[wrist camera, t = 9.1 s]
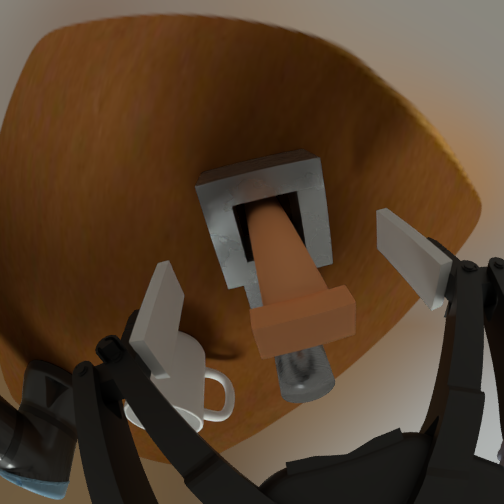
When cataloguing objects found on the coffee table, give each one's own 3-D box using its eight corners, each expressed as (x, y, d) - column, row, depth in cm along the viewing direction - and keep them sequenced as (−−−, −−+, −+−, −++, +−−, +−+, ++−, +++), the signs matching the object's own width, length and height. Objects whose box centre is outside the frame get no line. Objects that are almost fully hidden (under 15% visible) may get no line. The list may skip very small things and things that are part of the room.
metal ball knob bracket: (249, 324, 30) (260, 419, 19) (201, 172, 22) (175, 232, 11) (324, 306, 30) (360, 394, 19) (302, 148, 21) (371, 186, 11)
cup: (144, 319, 29) (123, 392, 20) (243, 343, 31) (249, 417, 23) (138, 360, 32) (123, 425, 23) (223, 380, 35) (225, 444, 26)
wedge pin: (243, 227, 24) (264, 367, 11) (235, 196, 23) (248, 318, 9) (287, 217, 24) (354, 343, 11) (281, 185, 23) (356, 290, 9)
